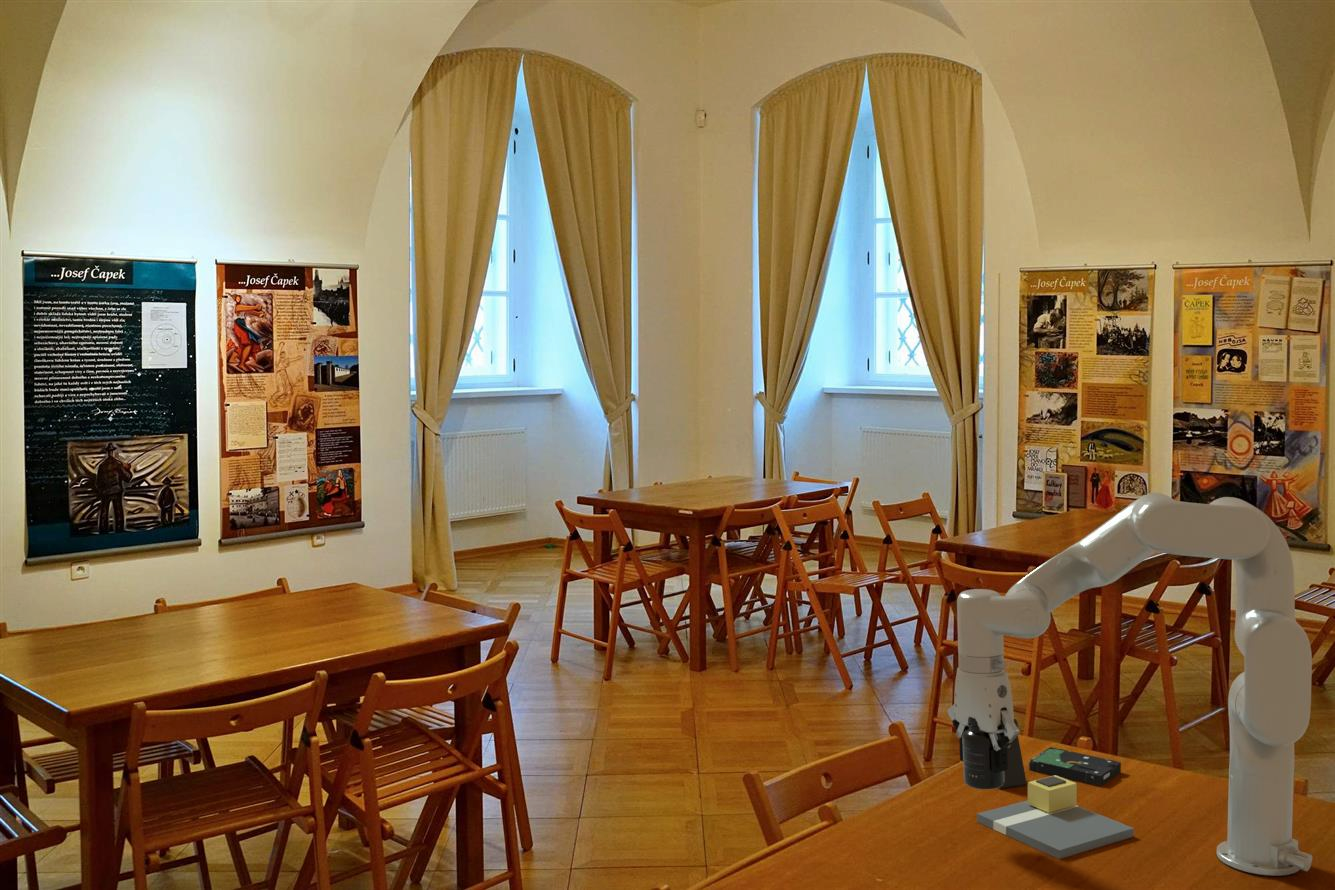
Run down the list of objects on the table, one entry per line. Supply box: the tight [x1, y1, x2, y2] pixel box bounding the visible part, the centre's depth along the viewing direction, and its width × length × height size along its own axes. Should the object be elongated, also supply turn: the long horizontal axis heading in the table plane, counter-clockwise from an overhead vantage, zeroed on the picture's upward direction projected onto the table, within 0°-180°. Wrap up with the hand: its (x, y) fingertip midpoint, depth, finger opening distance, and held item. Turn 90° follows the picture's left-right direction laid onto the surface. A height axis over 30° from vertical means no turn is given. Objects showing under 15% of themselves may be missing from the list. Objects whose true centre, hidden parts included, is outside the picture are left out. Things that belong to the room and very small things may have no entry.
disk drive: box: [1028, 746, 1122, 787], centre depth 251 cm, size 10×3×15 cm
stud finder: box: [1027, 775, 1078, 813], centre depth 228 cm, size 5×7×4 cm
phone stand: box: [997, 718, 1028, 790], centre depth 246 cm, size 9×6×12 cm, turn 18°
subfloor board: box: [976, 799, 1135, 860], centre depth 222 cm, size 19×18×2 cm
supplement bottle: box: [962, 717, 1005, 790], centre depth 217 cm, size 7×7×12 cm
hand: (983, 764), depth 217 cm, fingers closed on supplement bottle, 6 cm apart
